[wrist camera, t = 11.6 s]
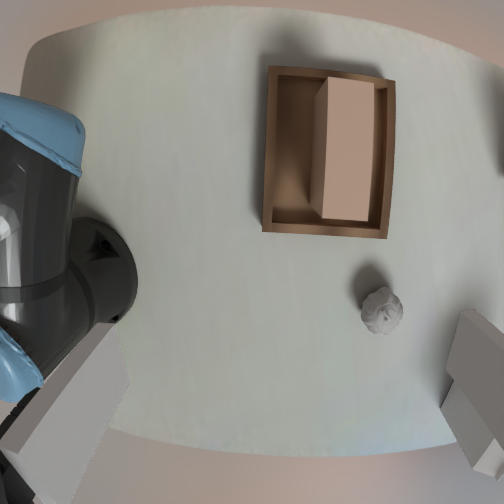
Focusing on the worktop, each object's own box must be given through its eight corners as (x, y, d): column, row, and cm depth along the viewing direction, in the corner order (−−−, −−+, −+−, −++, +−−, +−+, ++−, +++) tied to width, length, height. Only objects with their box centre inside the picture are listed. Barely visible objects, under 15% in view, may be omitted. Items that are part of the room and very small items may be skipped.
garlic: (355, 285, 38) (366, 303, 33) (395, 278, 37) (411, 294, 32) (357, 327, 39) (367, 348, 34) (395, 320, 39) (409, 339, 34)
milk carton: (439, 409, 43) (481, 488, 25) (454, 377, 41) (506, 456, 23) (468, 404, 43) (512, 475, 25) (483, 373, 41) (537, 443, 23)
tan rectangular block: (309, 204, 35) (322, 218, 26) (313, 97, 32) (328, 76, 23) (344, 207, 35) (367, 221, 26) (349, 101, 31) (373, 83, 23)
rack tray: (262, 227, 37) (261, 231, 34) (268, 71, 32) (268, 65, 29) (380, 234, 36) (386, 239, 34) (388, 85, 31) (395, 80, 29)
